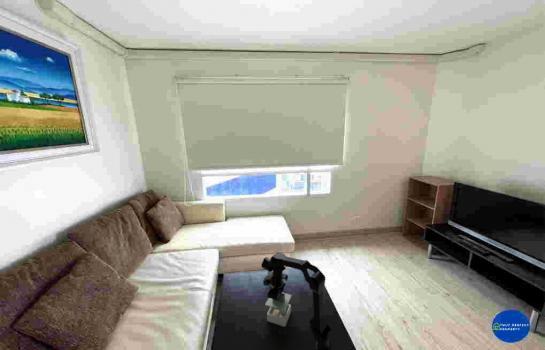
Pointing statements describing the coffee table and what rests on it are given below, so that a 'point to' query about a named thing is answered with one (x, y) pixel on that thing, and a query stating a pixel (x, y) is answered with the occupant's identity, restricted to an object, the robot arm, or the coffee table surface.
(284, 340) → the coffee table surface
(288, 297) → the lid
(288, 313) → the storage box
